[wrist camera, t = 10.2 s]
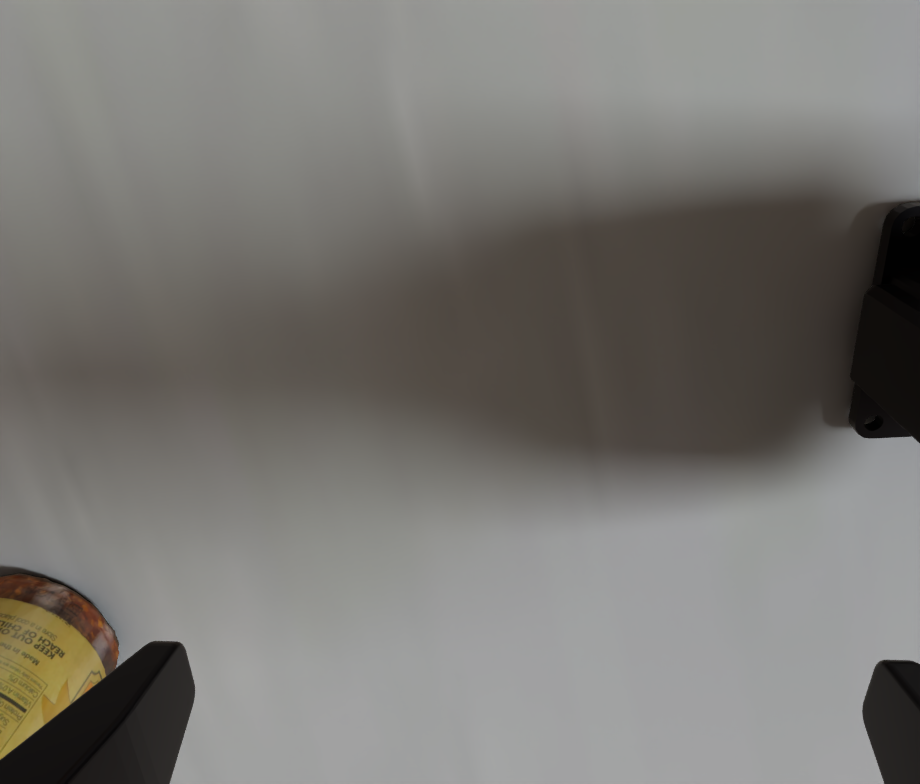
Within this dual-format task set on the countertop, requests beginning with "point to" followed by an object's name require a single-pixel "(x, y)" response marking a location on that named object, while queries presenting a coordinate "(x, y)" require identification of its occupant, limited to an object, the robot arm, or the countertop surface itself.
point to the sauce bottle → (46, 653)
